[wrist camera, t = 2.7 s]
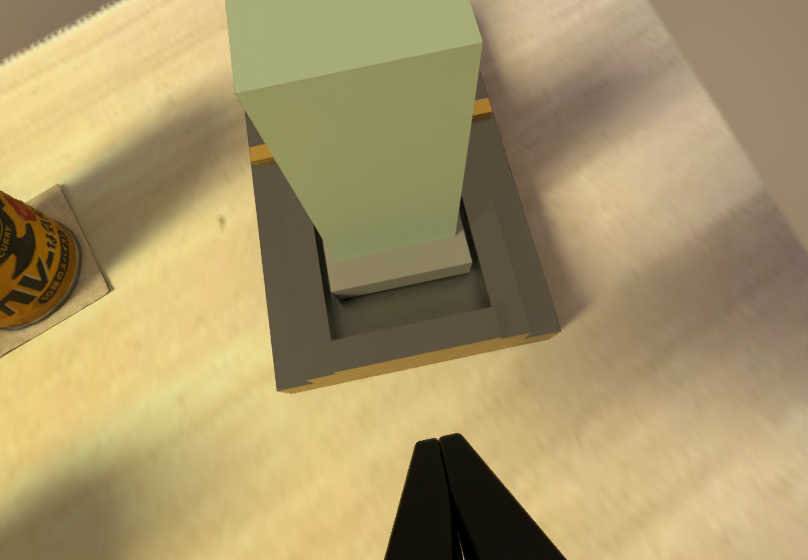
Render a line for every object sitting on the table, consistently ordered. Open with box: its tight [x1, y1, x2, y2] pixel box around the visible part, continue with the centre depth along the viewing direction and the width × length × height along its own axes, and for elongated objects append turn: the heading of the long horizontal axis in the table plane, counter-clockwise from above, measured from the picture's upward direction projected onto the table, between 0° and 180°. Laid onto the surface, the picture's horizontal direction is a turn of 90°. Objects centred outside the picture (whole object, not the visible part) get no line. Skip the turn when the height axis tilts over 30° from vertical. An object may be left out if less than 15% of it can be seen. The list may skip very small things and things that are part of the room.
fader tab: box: [225, 0, 483, 300], centre depth 15 cm, size 5×6×11 cm
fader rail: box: [245, 70, 561, 394], centre depth 21 cm, size 18×12×4 cm, turn 12°
